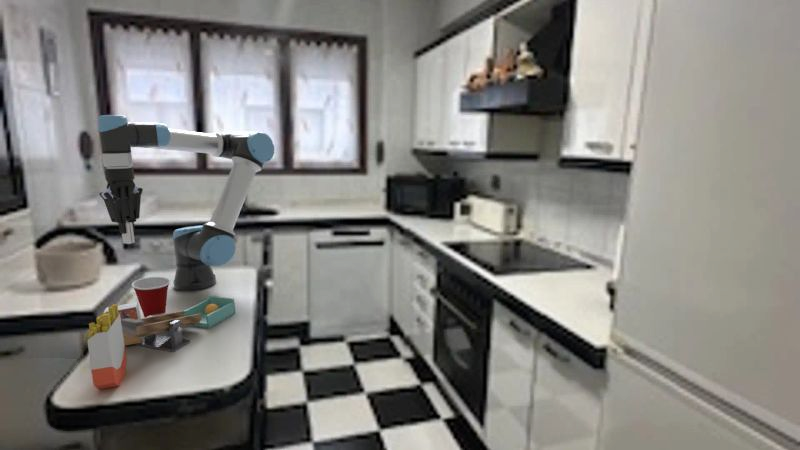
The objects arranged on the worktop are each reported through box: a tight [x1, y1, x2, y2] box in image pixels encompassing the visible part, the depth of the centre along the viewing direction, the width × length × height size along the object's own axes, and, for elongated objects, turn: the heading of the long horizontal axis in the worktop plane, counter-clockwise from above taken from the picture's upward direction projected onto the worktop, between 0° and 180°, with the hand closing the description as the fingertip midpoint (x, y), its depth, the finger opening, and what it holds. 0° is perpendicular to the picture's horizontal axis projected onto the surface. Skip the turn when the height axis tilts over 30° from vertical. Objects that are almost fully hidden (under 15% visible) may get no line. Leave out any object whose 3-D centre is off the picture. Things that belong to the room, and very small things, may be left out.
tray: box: [183, 295, 236, 329], centre depth 139 cm, size 12×10×5 cm
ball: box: [205, 304, 219, 315], centre depth 140 cm, size 4×4×4 cm
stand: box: [136, 316, 191, 353], centre depth 122 cm, size 6×13×7 cm, turn 72°
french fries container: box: [87, 303, 127, 390], centre depth 102 cm, size 5×11×18 cm, turn 20°
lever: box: [121, 310, 202, 339], centre depth 123 cm, size 22×15×4 cm
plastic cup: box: [131, 276, 171, 318], centre depth 140 cm, size 11×11×12 cm
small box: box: [102, 301, 144, 346], centre depth 122 cm, size 8×6×10 cm
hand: (129, 242), depth 137 cm, fingers closed
